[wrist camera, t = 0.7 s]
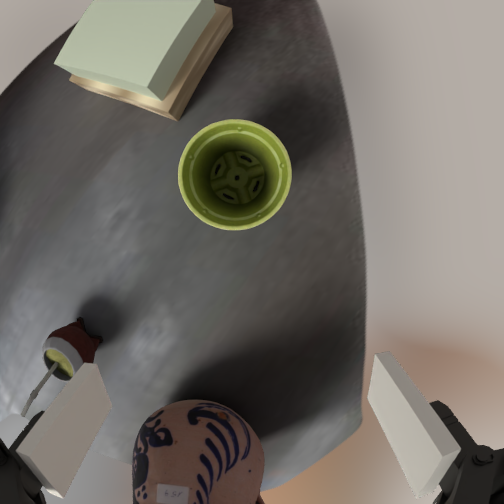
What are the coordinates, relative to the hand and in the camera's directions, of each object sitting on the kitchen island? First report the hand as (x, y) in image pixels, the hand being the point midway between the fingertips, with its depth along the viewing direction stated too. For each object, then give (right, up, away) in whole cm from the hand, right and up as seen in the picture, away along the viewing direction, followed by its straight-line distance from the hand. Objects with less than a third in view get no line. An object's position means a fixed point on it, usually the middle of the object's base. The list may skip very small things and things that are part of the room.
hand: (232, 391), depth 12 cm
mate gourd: (-23, -6, +24) cm, 34 cm away
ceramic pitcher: (-5, -20, +28) cm, 35 cm away
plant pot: (-1, +14, +20) cm, 25 cm away
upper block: (-11, +29, +12) cm, 33 cm away
